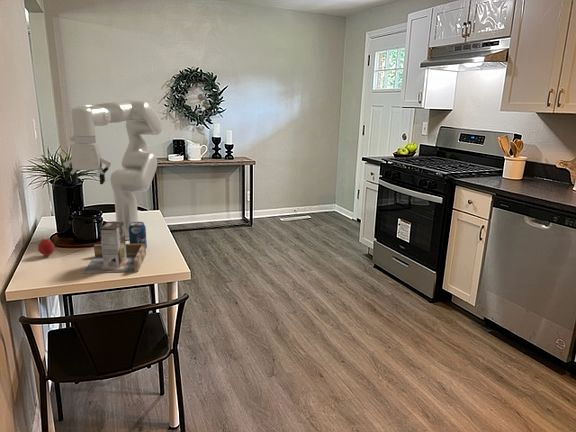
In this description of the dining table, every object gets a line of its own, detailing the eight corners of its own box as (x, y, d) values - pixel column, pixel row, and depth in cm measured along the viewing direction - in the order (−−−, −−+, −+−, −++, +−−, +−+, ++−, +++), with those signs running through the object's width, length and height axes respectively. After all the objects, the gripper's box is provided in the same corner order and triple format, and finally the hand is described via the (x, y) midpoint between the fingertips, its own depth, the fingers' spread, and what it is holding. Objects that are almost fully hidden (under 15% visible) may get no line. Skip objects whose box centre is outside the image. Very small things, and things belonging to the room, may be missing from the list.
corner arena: (95, 255, 175) (94, 244, 174) (145, 254, 178) (145, 243, 177) (82, 273, 158) (81, 261, 157) (138, 271, 161) (137, 259, 160)
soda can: (141, 253, 180) (139, 226, 176) (126, 251, 181) (124, 225, 178) (150, 248, 186) (148, 221, 183) (135, 246, 187) (133, 220, 184)
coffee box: (111, 259, 172) (107, 221, 167) (127, 259, 172) (124, 221, 168) (102, 267, 163) (98, 228, 158) (119, 268, 163) (116, 228, 159)
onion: (51, 252, 177) (49, 234, 175) (58, 256, 174) (55, 237, 172) (36, 256, 173) (34, 237, 171) (42, 260, 170) (40, 241, 167)
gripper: (57, 141, 158) (62, 185, 163) (106, 141, 161) (109, 185, 166) (64, 138, 165) (69, 181, 170) (110, 139, 168) (114, 181, 173)
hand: (89, 183), depth 168 cm, fingers open, 9 cm apart
